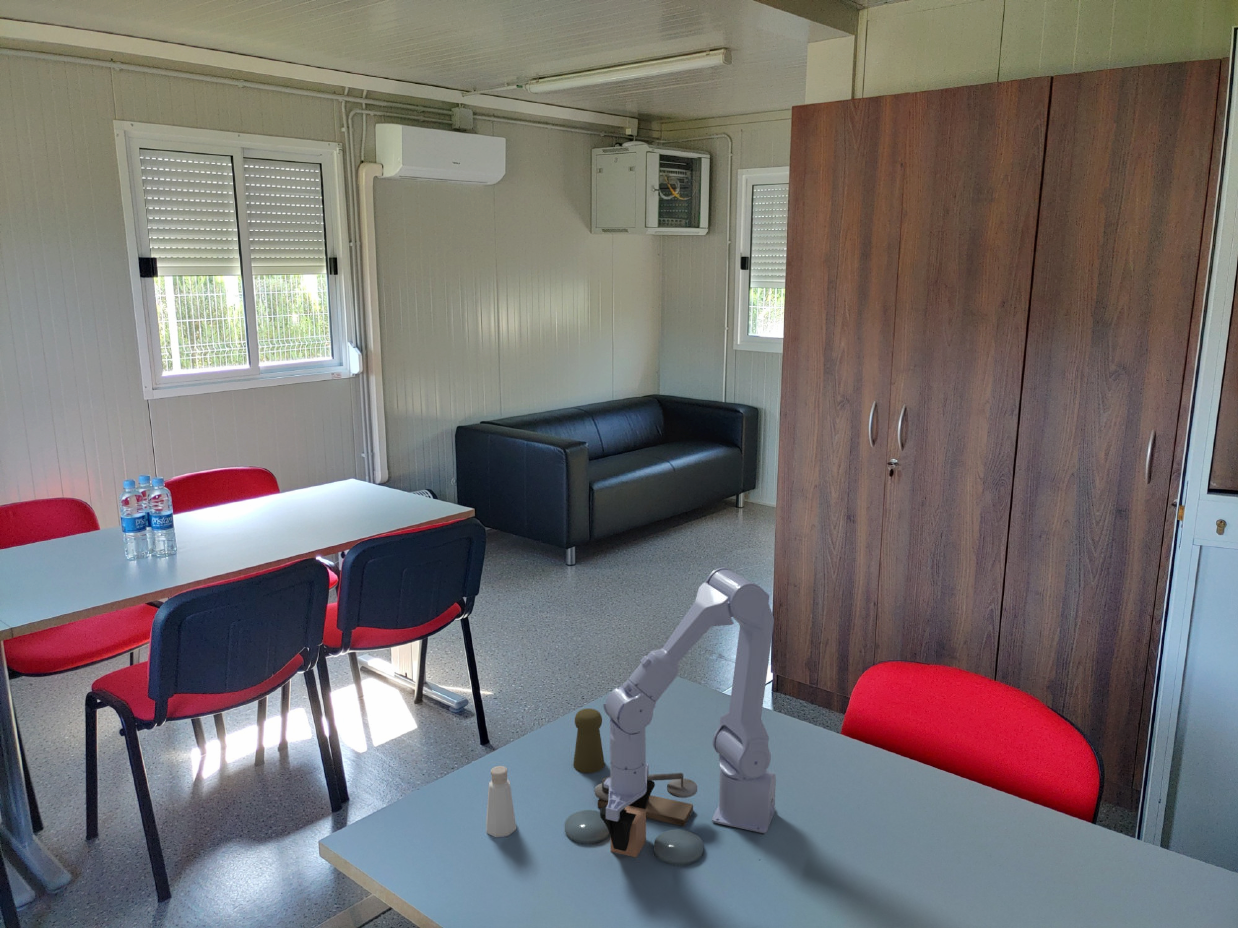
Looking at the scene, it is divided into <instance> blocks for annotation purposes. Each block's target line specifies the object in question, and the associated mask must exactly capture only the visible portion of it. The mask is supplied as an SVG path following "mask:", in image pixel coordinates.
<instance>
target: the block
mask: <svg viewBox="0 0 1238 928" xmlns="http://www.w3.org/2000/svg"><path fill="white" fill-rule="evenodd" d="M625 810H627V812H628V813H632V814H636V816H635V818H634V820H633V823H632V826H631V829H630V835H629V843H628V847H627V849H626V851H622V850H618V849H614V847H613V844H612V840H611V837H610V836H609V838H610V852H613V853H616V854H619V855H620V854H621V855H625V856H628V857H633V858H637V857H638V856H639V854H640V853H641V851H642V849H643V847H644V846H645V844H646V841H647V840H646V839H647V818H646V809H642V808H637V807H633V806H627V807H625Z"/></svg>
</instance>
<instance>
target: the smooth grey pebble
mask: <svg viewBox="0 0 1238 928" xmlns="http://www.w3.org/2000/svg"><path fill="white" fill-rule="evenodd" d="M703 852H704V843H703V840H702V839H701V838H700V836H699V835H697V834H695V833H694V832H691V831H689V830H685V829H670V830H667V831H663V832H661V833H660V834H658V835H657V836H656V838H655V839H654V842H653V853H654V855H655V856H656V857H657V858H658V860H660V861H661V862H664V863H665V864H668V865H671V866H672V865H673V866H688V865H690V864H694V863H696V862H698V861H699V860H700V859H701V858H702V856H703V854H704V853H703Z"/></svg>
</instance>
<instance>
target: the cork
mask: <svg viewBox="0 0 1238 928" xmlns="http://www.w3.org/2000/svg"><path fill="white" fill-rule="evenodd" d="M574 716H575V717H574V724H575V727H576V729H577V732H576V740H575V748H574V756H573V764H572V765H573V768H574V769H575V770H576V771H578V772H580V773H583V774H592V773H593V774H594V773H597V772H600V771H602V770H603V769H604V767H605V757H604V751H603V743H602V738H601V731H600V729H601V727H602V723H603V718H602V714H601V713H600V711H599V710H597V709H595V708H589V707H588V708H583V709H580V710H578V712H577V713H576V714H575V715H574Z"/></svg>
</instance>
